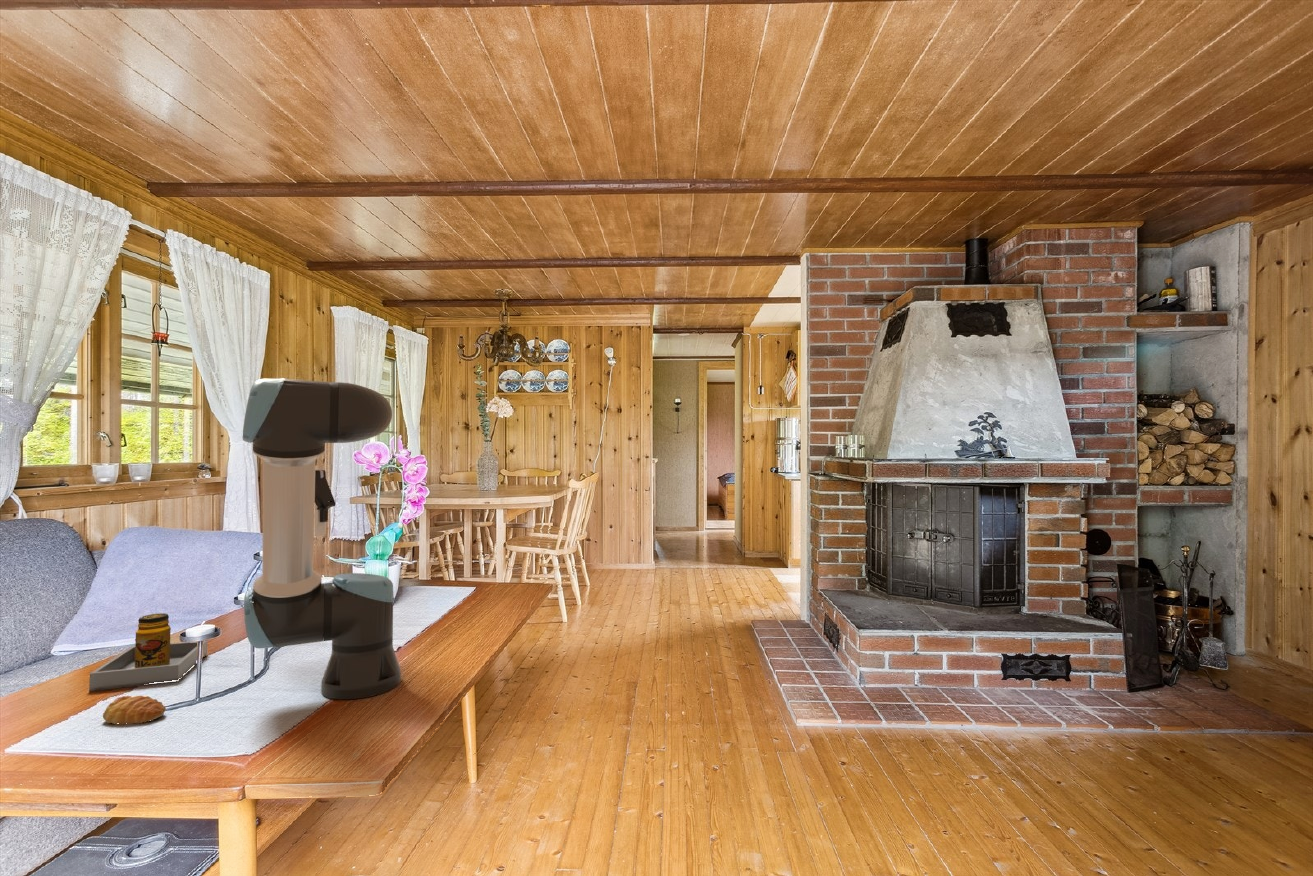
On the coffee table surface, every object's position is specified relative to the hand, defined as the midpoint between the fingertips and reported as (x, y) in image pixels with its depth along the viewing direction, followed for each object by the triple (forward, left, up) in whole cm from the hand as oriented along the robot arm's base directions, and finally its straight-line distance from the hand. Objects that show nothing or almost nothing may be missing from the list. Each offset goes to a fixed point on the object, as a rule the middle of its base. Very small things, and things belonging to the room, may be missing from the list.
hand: (298, 534), depth 154 cm
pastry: (-36, +20, -29) cm, 51 cm away
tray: (-8, +26, -29) cm, 40 cm away
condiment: (-8, +27, -28) cm, 40 cm away
